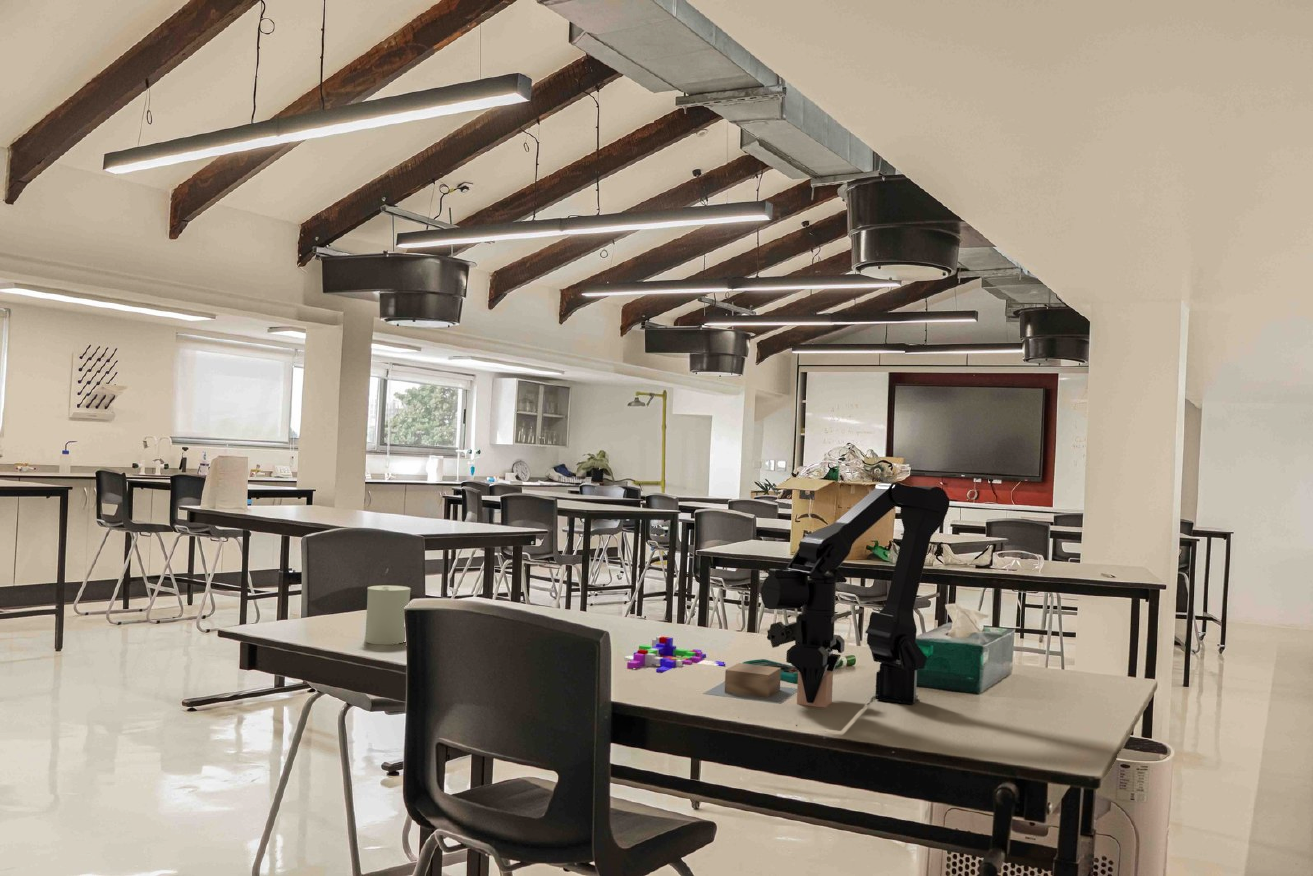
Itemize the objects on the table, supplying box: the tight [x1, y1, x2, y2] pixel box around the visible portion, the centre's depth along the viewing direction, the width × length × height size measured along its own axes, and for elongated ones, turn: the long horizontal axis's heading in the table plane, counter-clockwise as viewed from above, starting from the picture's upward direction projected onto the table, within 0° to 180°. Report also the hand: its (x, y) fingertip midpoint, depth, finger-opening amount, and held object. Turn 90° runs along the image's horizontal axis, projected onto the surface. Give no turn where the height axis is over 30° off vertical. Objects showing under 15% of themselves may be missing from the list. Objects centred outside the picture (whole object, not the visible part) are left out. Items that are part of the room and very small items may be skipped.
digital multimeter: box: [742, 658, 799, 684], centre depth 202 cm, size 7×15×3 cm, turn 42°
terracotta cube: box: [796, 670, 834, 708], centre depth 178 cm, size 5×5×6 cm
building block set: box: [624, 635, 726, 673], centre depth 215 cm, size 25×20×4 cm
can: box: [363, 584, 412, 646], centre depth 223 cm, size 9×9×12 cm
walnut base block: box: [724, 662, 781, 698], centre depth 186 cm, size 8×8×4 cm
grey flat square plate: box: [702, 681, 797, 704], centre depth 186 cm, size 14×14×1 cm
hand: (814, 699), depth 178 cm, fingers open, 6 cm apart
